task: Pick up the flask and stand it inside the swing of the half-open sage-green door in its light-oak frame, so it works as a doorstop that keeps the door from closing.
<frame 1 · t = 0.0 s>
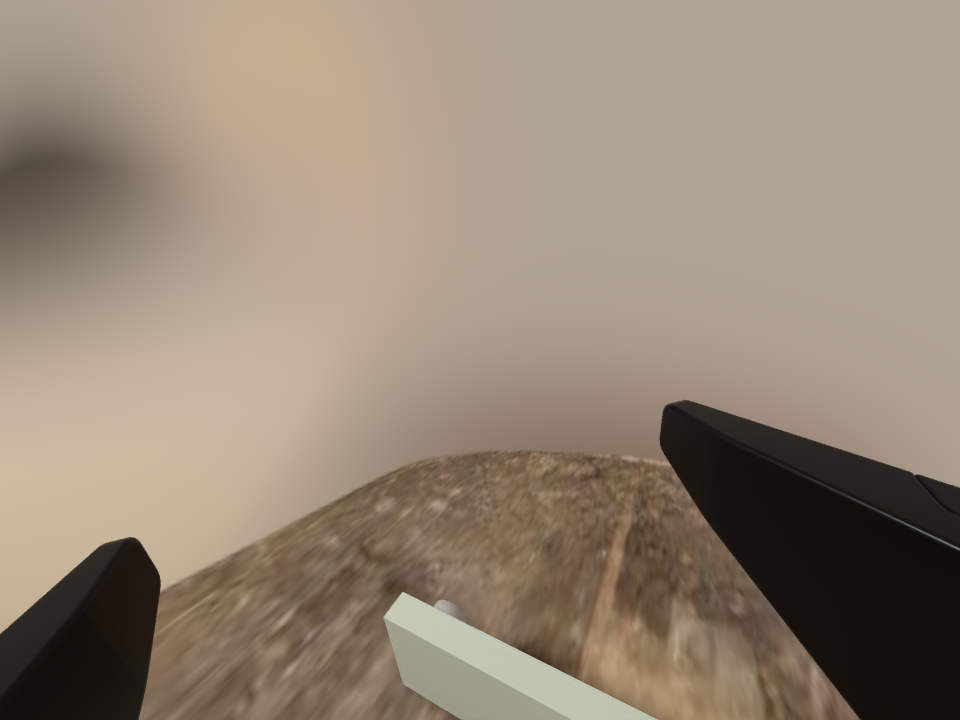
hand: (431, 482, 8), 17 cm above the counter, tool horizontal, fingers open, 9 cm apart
door: (556, 708, 17), point 3 cm above the counter, hinge at 45.0°
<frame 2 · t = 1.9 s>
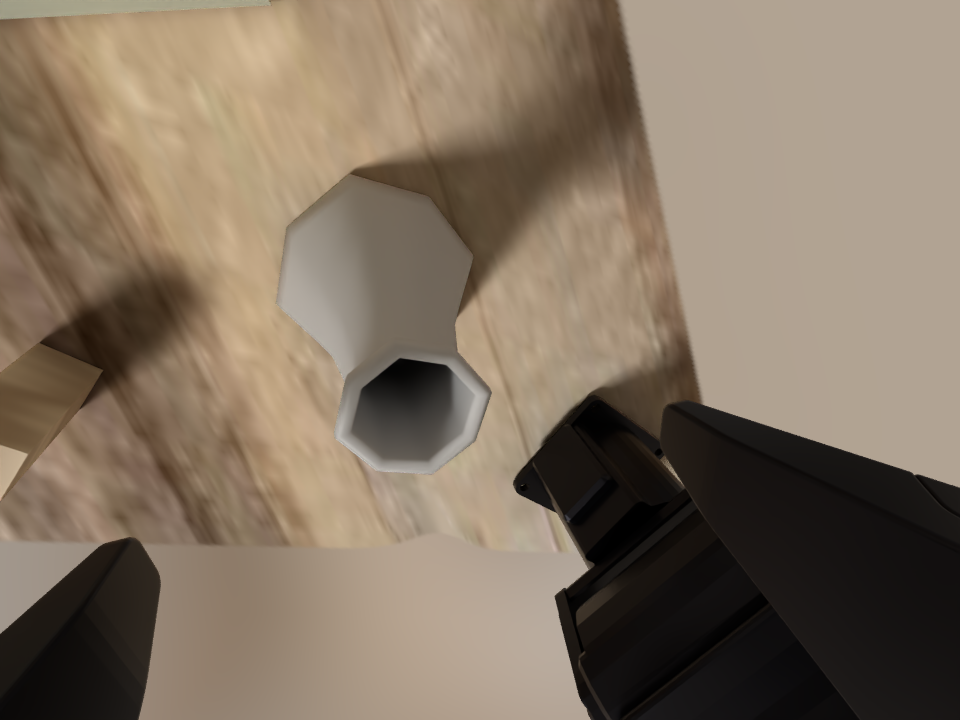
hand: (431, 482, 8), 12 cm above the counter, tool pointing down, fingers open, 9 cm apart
flask: (377, 275, 19), on the counter
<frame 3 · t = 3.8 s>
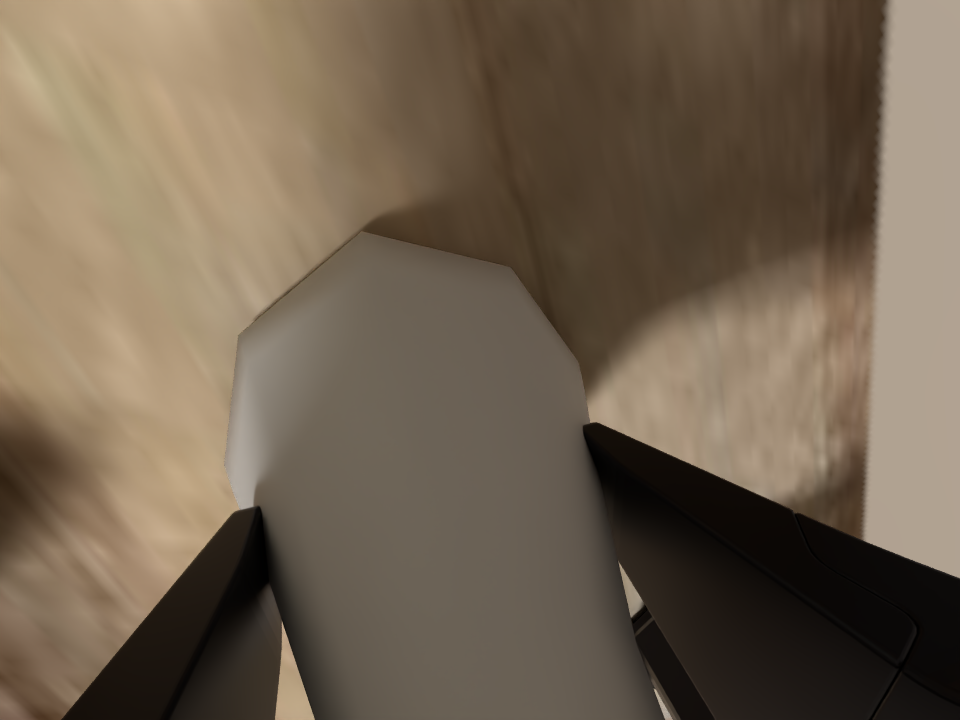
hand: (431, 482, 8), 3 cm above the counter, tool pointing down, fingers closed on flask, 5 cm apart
flask: (408, 398, 11), on the counter, touching gripper
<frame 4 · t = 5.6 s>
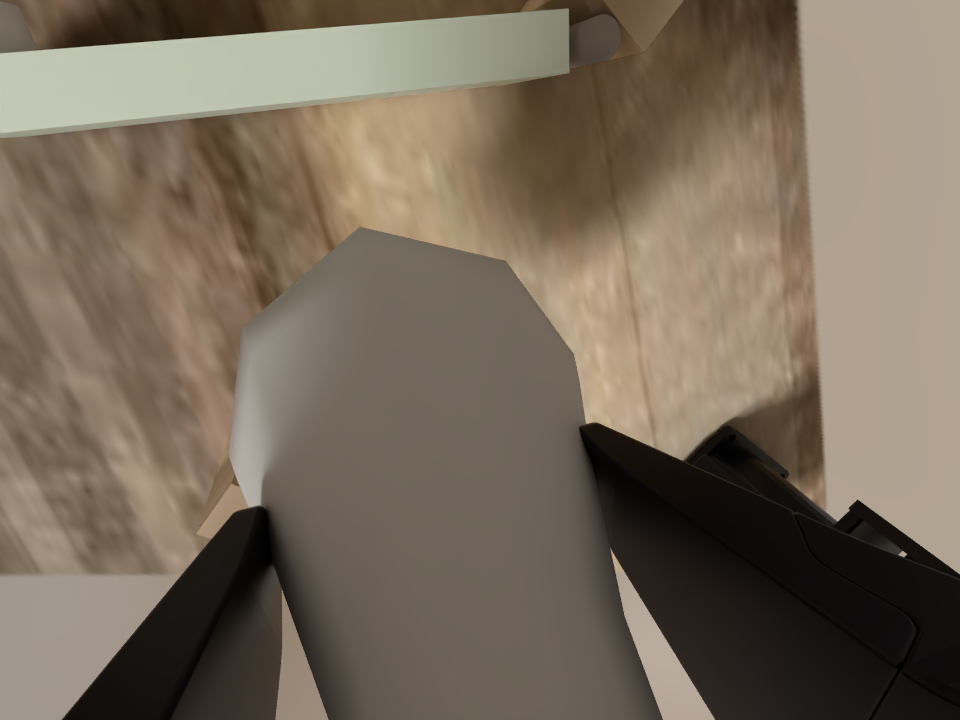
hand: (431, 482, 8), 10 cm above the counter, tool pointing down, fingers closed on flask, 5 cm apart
flask: (407, 391, 11), point 7 cm above the counter, touching gripper
door frame: (526, 60, 15), on the counter
door: (263, 53, 11), point 3 cm above the counter, hinge at 45.0°
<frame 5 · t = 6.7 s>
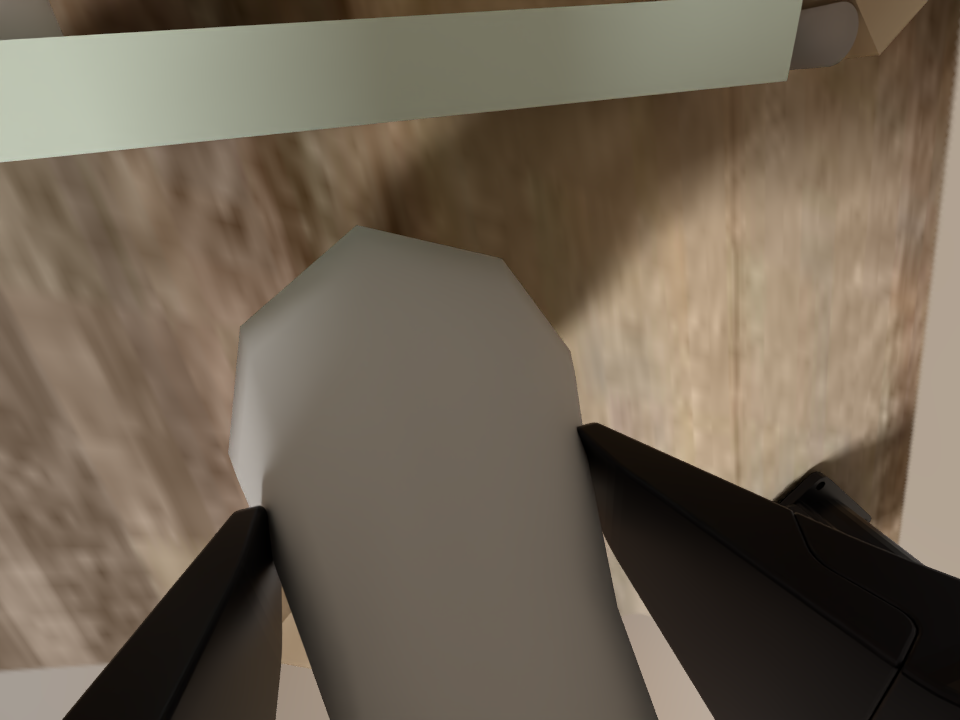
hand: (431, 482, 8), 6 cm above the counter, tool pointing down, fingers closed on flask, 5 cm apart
flask: (405, 388, 11), point 3 cm above the counter, touching gripper
door frame: (657, 60, 12), on the counter
door: (369, 46, 8), point 3 cm above the counter, hinge at 45.0°
when the fingers open (4 cm above the counter, at t = 7.6 s): flask stays where it is, on the counter.
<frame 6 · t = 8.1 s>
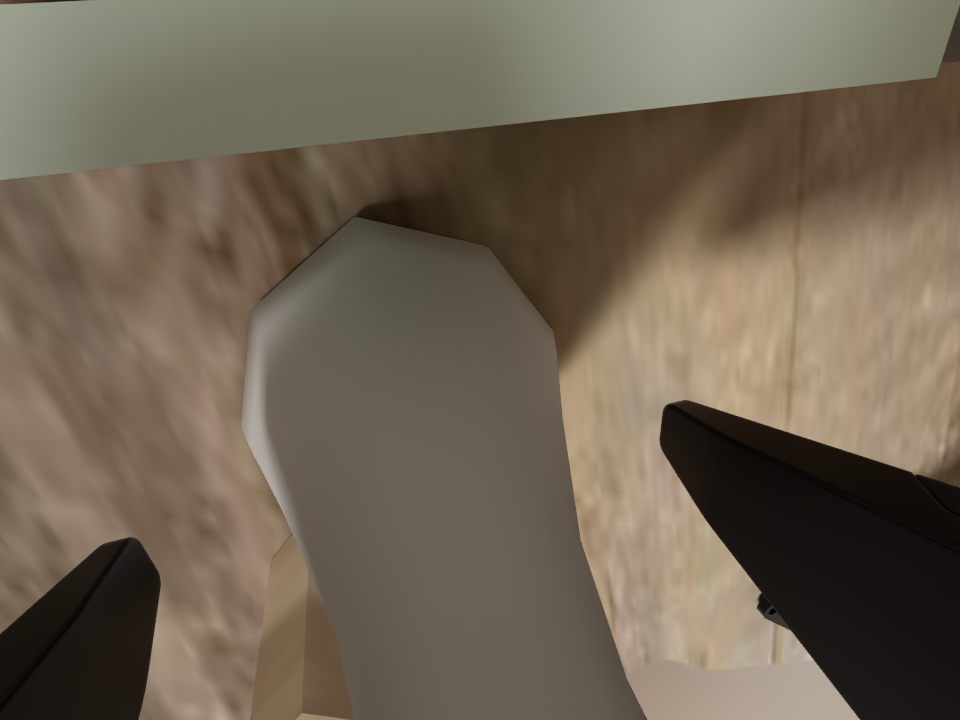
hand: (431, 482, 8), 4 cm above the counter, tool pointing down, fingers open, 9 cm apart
flask: (402, 367, 12), on the counter
door frame: (723, 55, 10), on the counter
door: (389, 33, 6), point 3 cm above the counter, hinge at 45.0°
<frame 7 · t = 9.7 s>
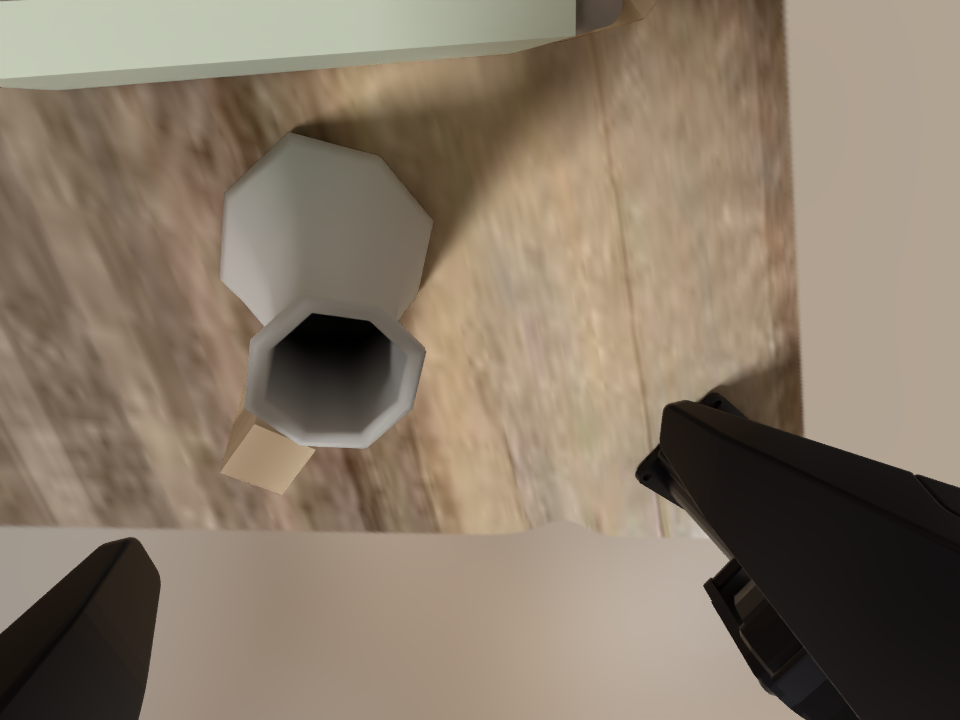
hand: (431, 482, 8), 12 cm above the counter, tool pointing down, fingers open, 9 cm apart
flask: (330, 245, 18), on the counter
door frame: (530, 31, 16), on the counter
door: (290, 12, 12), point 3 cm above the counter, hinge at 45.0°
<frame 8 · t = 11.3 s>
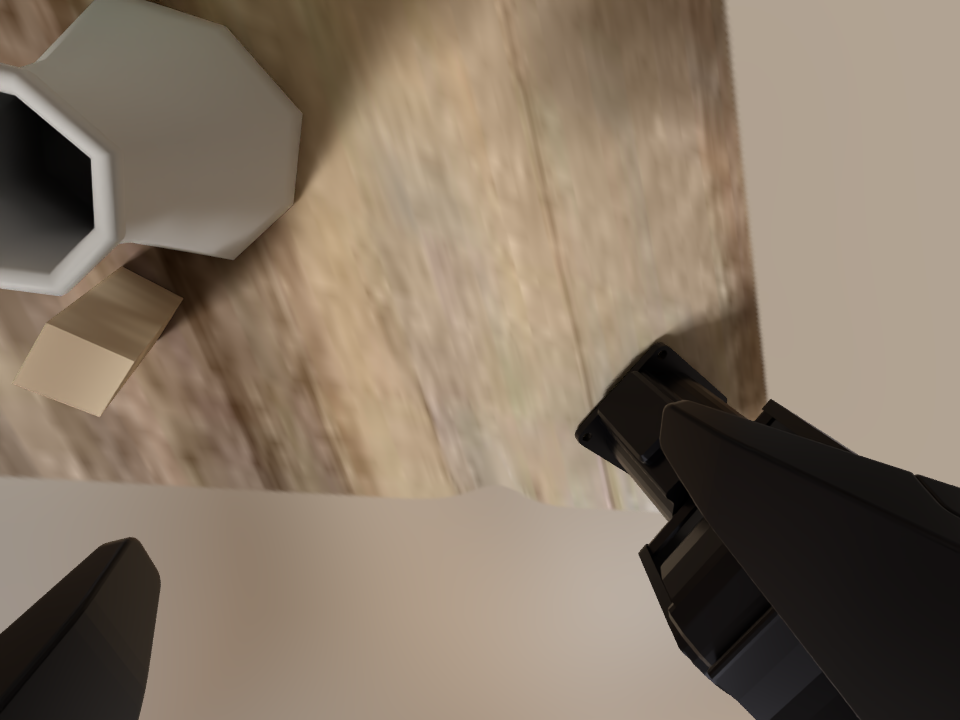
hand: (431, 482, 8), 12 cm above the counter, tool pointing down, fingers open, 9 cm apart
flask: (182, 140, 15), on the counter
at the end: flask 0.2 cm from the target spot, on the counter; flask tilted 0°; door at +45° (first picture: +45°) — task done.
